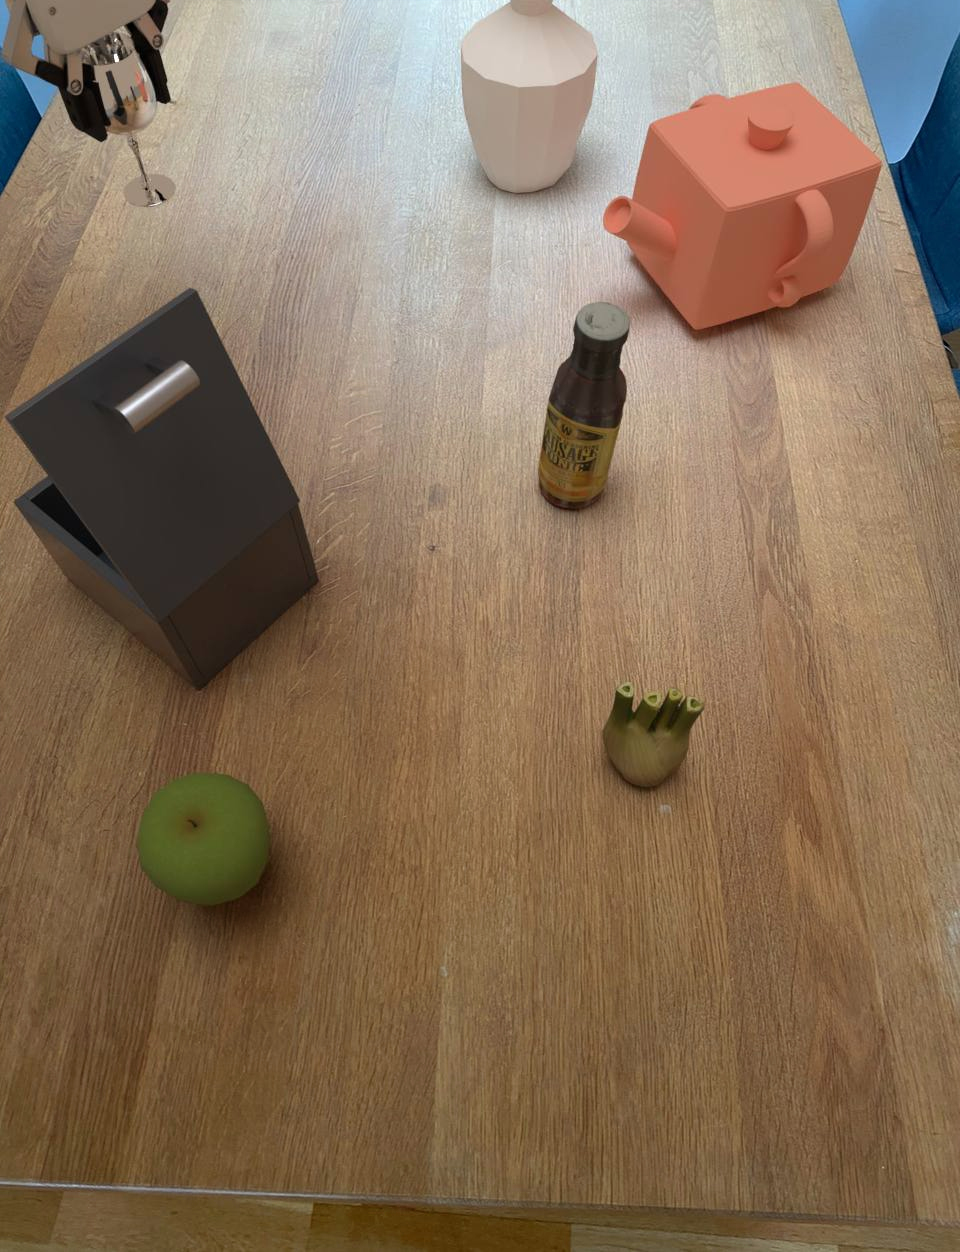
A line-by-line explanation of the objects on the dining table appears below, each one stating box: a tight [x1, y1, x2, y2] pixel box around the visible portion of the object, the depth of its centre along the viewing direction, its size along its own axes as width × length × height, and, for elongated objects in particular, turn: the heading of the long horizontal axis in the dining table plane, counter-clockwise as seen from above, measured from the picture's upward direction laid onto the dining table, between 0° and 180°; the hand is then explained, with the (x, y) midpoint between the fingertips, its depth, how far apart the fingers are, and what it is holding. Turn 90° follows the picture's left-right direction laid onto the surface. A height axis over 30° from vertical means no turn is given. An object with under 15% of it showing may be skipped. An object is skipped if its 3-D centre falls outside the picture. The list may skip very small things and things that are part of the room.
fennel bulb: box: [601, 681, 705, 788], centre depth 68 cm, size 6×5×12 cm
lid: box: [4, 287, 301, 622], centre depth 61 cm, size 18×14×5 cm
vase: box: [460, 0, 599, 194], centre depth 98 cm, size 14×14×25 cm
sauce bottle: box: [537, 301, 631, 510], centre depth 77 cm, size 6×6×20 cm
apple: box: [136, 772, 271, 906], centre depth 63 cm, size 9×8×12 cm
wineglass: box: [82, 31, 177, 208], centre depth 76 cm, size 6×6×12 cm
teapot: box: [602, 81, 883, 330], centre depth 92 cm, size 25×23×18 cm
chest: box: [13, 475, 320, 692], centre depth 76 cm, size 17×14×11 cm
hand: (124, 113), depth 76 cm, fingers closed on wineglass, 5 cm apart
